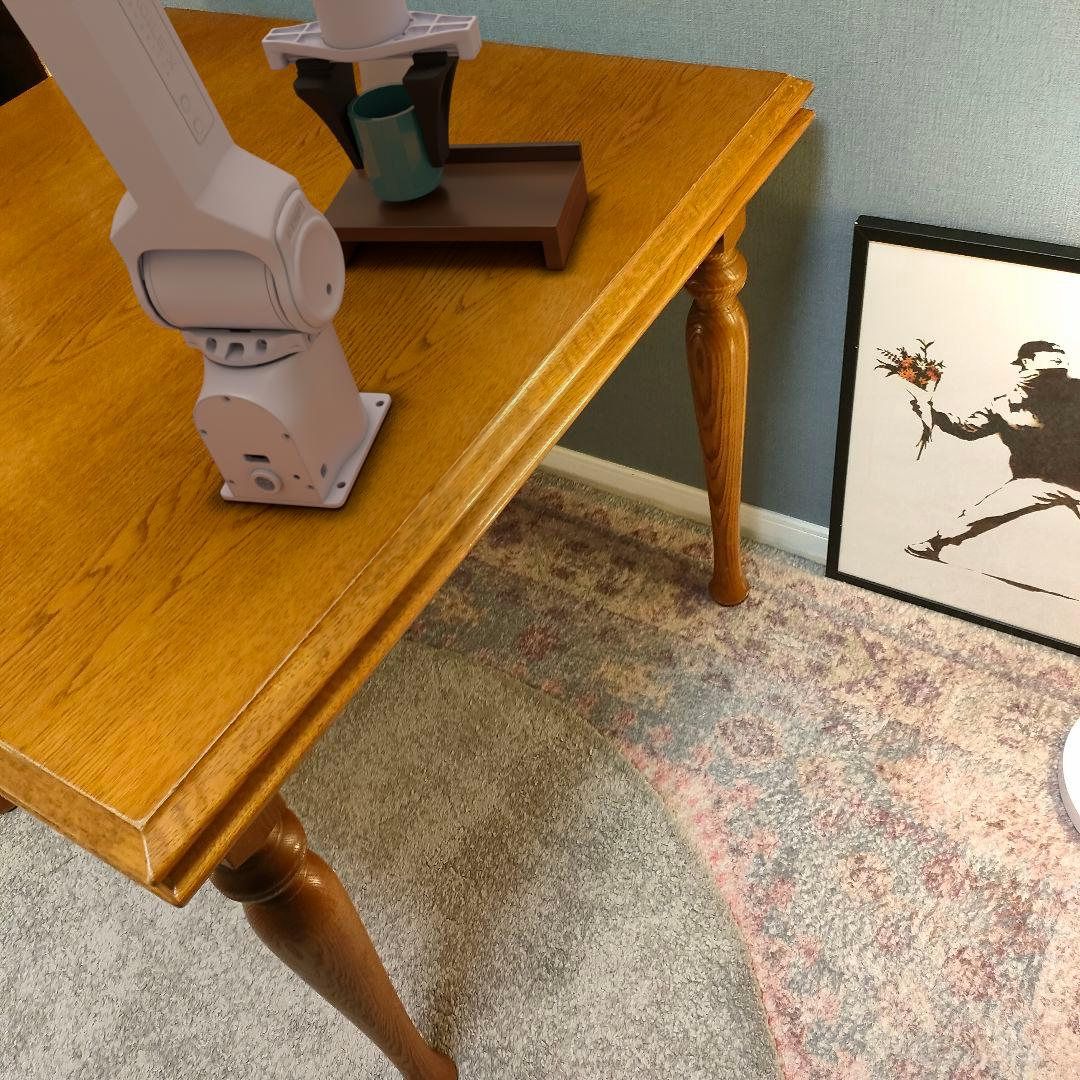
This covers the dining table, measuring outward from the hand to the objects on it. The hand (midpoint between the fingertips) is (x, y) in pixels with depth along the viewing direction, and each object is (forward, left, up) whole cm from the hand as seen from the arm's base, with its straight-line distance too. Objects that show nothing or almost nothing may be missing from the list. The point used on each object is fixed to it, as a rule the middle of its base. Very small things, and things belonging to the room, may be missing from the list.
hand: (402, 161), depth 71 cm
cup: (0, 0, -2) cm, 2 cm away
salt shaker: (+16, +7, -6) cm, 19 cm away
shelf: (0, -3, -6) cm, 7 cm away
